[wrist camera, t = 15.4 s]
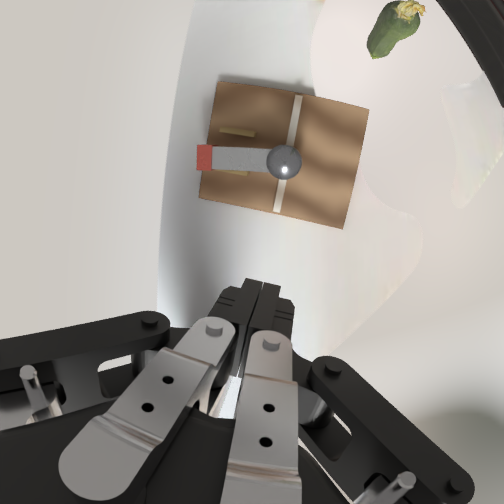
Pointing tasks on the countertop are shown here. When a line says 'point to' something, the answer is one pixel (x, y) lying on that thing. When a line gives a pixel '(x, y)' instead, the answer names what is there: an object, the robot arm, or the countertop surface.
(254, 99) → the door board
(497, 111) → the countertop surface
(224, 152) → the bar
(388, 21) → the vegetable
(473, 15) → the barrier
